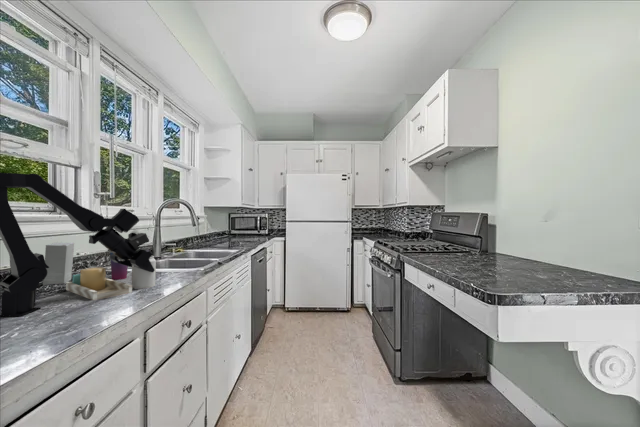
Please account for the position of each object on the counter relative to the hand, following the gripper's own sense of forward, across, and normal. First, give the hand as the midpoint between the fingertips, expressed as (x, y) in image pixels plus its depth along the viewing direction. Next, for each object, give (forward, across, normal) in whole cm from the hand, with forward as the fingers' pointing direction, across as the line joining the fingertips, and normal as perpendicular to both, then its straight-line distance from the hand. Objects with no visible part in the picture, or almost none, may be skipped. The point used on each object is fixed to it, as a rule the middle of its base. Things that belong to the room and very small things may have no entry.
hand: (147, 270), depth 107 cm
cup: (+5, +22, +5) cm, 23 cm away
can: (+4, 0, +6) cm, 7 cm away
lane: (-5, +6, +14) cm, 16 cm away
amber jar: (-5, +10, +14) cm, 18 cm away
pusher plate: (-6, +14, +13) cm, 21 cm away
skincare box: (-6, +33, +16) cm, 38 cm away
